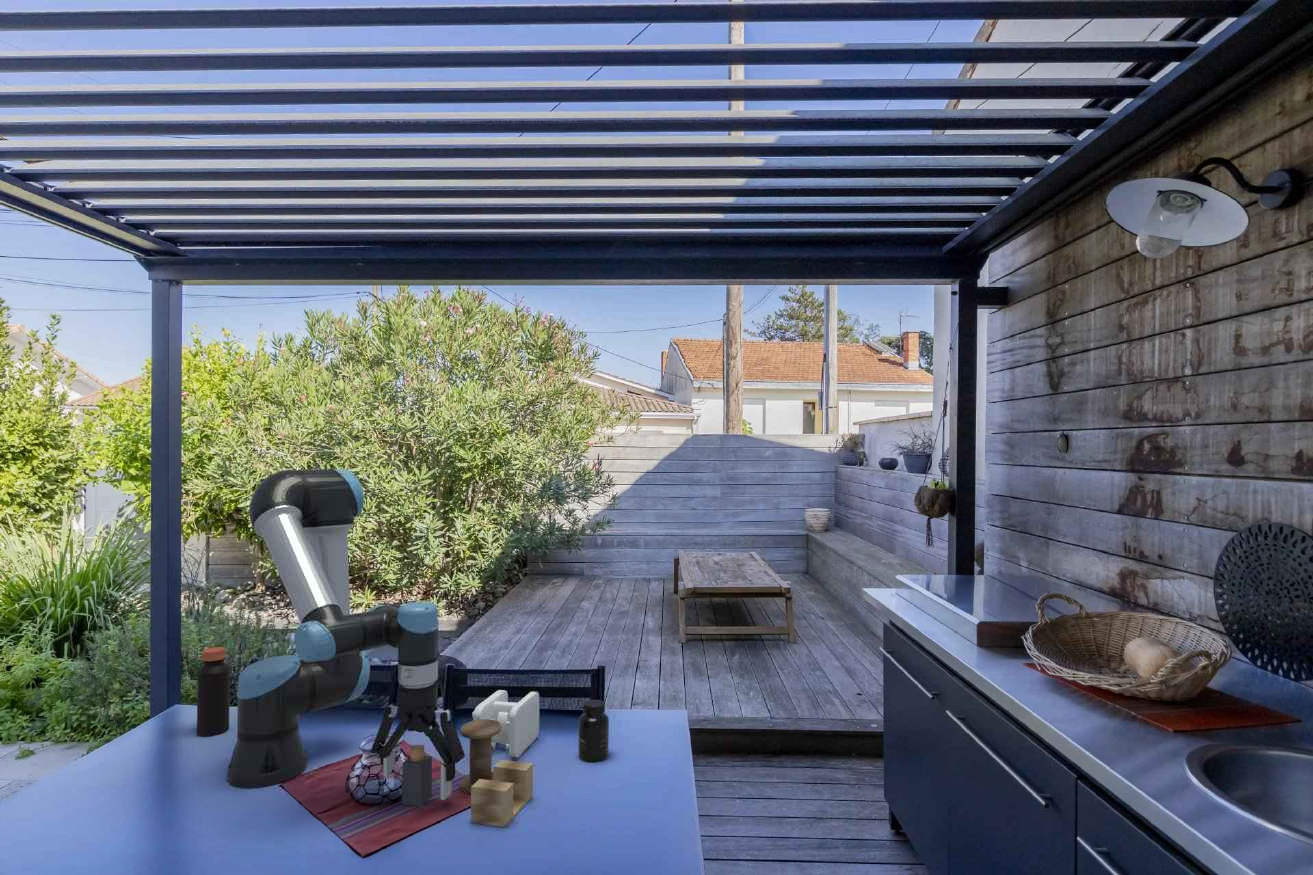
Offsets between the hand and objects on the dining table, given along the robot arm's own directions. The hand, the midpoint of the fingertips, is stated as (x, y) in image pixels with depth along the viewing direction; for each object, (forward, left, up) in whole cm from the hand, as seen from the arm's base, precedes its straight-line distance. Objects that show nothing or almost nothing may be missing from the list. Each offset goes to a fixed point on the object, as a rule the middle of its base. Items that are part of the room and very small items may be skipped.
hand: (417, 792), depth 142 cm
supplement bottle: (+27, +28, -2) cm, 39 cm away
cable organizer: (+6, +27, -2) cm, 28 cm away
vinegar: (-68, +18, -2) cm, 70 cm away
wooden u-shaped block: (+18, +1, -1) cm, 18 cm away
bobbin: (+9, +9, -1) cm, 13 cm away
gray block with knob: (0, 0, -1) cm, 1 cm away
